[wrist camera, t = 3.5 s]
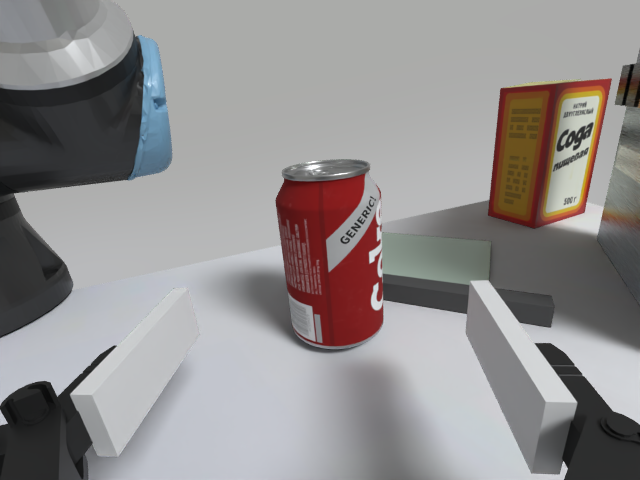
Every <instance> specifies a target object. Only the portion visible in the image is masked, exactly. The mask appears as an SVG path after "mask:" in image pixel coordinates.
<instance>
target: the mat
mask: <svg viewBox="0 0 640 480" xmlns="http://www.w3.org/2000/svg"><path fill="white" fill-rule="evenodd" d="M490 253H491V241H484V240H471V239H459V238H446V237H434V236H421V235H409V234H396V233H384V232H382V273H383V274H391V275H398V276H406V277H413V278H421V279H429V280H436V281H444V282H451V283H459V284H466V285H470V281H481V280H488V281H489V271H490Z"/></svg>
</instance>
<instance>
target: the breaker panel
mask: <svg viewBox="0 0 640 480" xmlns="http://www.w3.org/2000/svg"><path fill="white" fill-rule="evenodd" d="M615 105H621V106H622V105H625V106H627V108H626V112H625V117H624V121H623V126H622V130H621V134H620V139H619V143H618V148H617V152H616V157H615V161H614V165H613V170H612V174H611V179H610V183H609V188H608V192H607V196H606V201H605V206H604V210H603V214H602V219H601V223H600V228H599V232H598V236H597V240H598V242H599V243H600V245H601V246H602V248H603V249H604V251H605V253H606V254H607V256H608V257H609V259H610V260H611V262H612V263H613V265H614V267H615V268H616V270H617V271H618V273H619V274H620V276H621V277H622V279H623V280H624V282H625V284H626V285H627V287H628V288H629V290H630V291H631V293H632V294H633V296H634V298H635V299H636V301H637V302H638V304H639V305H640V50H639V54H638V59H637V63H636V64H630V65H625V66H623V68H622V73H621V77H620V82H619V87H618V91H617V96H616V101H615Z"/></svg>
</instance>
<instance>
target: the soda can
mask: <svg viewBox="0 0 640 480" xmlns="http://www.w3.org/2000/svg"><path fill="white" fill-rule="evenodd" d="M369 170H370V164H369V163H368V162H366V161H362V160H351V159H341V160H340V159H339V160H322V161H314V162H307V163H301V164H297V165H293V166H290V167H287V168H285V169H283V170H282V176H283V178H284V183H283V185H282V187H281V189H280V191H279V193H278V195H277V197H276V207H277V215H278V223H279V231H280V238H281V246H282V253H283V260H284V268H285V275H286V283H287V290H288V298H289V305H290V313H291V320H292V327H293V330H294V332H295V334H296V335H297V336H298V337H299V338H300V339H301V340H303V341H304V342H306V343H308V344H310V345H312V346H315V347H319V348H325V349H345V348H350V347H354V346H358V345H360V344H363V343H365V342H367V341H369V340H370V339H372V338H373V337H374V336H375V335H376V334H377V333H378V332H379V331H380V329H381V327H382V325H383V275H382V224H381V192H380V190H379V188H378V186H377V185H376V184H375V182H374V181H373V180H372V178H371V177H370V175H369Z"/></svg>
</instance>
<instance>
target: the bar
mask: <svg viewBox="0 0 640 480" xmlns="http://www.w3.org/2000/svg"><path fill="white" fill-rule="evenodd" d="M382 275H383V300H388V301H394V302H400V303H406V304H412V305H419V306H425V307H431V308H437V309H443V310H449V311H455V312H461V313H467V310H468V298H469V286H470V285H466V284H459V283H451V282H444V281H436V280H429V279H421V278H413V277H406V276H398V275H391V274H383V273H382ZM494 289H495V290H496V292H497V293H498V294H499V296H500V297H501V298H502V300H503V301H504V303H505V304H506V305H507V307H508V308H509V309H510V311H511V312H512V313H513V315H514V316H515V318H516V319H517V320H518V322H521V323H527V324H533V325H539V326H545V327H551V323H552V318H553V313H554V308H555V307H554V303H553V299H552V296H550V295H542V294H534V293H527V292H519V291H512V290H504V289H497V288H494Z"/></svg>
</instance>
